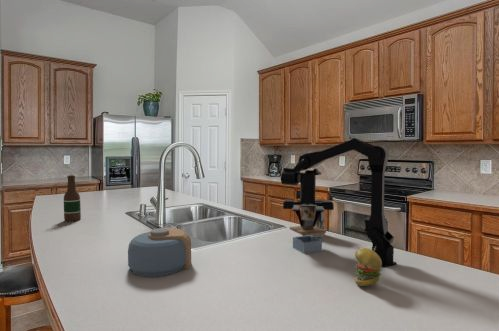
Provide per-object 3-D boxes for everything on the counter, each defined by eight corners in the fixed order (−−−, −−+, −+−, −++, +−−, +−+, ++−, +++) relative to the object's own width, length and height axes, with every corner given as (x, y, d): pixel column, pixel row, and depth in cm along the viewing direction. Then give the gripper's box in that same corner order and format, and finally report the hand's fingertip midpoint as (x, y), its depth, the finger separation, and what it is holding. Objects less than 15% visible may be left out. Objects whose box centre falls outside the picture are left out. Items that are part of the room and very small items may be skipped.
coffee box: (325, 234, 144) (325, 199, 143) (321, 238, 138) (321, 201, 137) (305, 232, 148) (305, 197, 147) (301, 235, 142) (301, 199, 141)
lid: (326, 232, 120) (326, 221, 120) (302, 235, 117) (303, 223, 116) (311, 226, 130) (311, 216, 129) (289, 229, 126) (289, 218, 126)
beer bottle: (65, 219, 173) (63, 175, 171) (81, 218, 176) (79, 174, 174) (63, 222, 165) (61, 176, 164) (80, 221, 169) (79, 175, 167)
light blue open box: (321, 250, 121) (321, 240, 121) (303, 253, 118) (304, 242, 118) (309, 244, 129) (309, 235, 129) (292, 247, 126) (292, 237, 125)
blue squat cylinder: (201, 266, 106) (201, 230, 105) (142, 283, 92) (142, 242, 92) (173, 252, 120) (173, 220, 119) (119, 265, 107) (118, 229, 106)
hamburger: (359, 278, 96) (360, 239, 95) (384, 285, 92) (386, 243, 91) (349, 287, 90) (350, 245, 89) (376, 294, 86) (377, 250, 85)
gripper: (330, 184, 129) (329, 222, 130) (283, 183, 131) (283, 221, 132) (334, 187, 118) (333, 229, 119) (283, 187, 120) (283, 228, 121)
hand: (307, 226), depth 123 cm, fingers closed on lid, 4 cm apart
